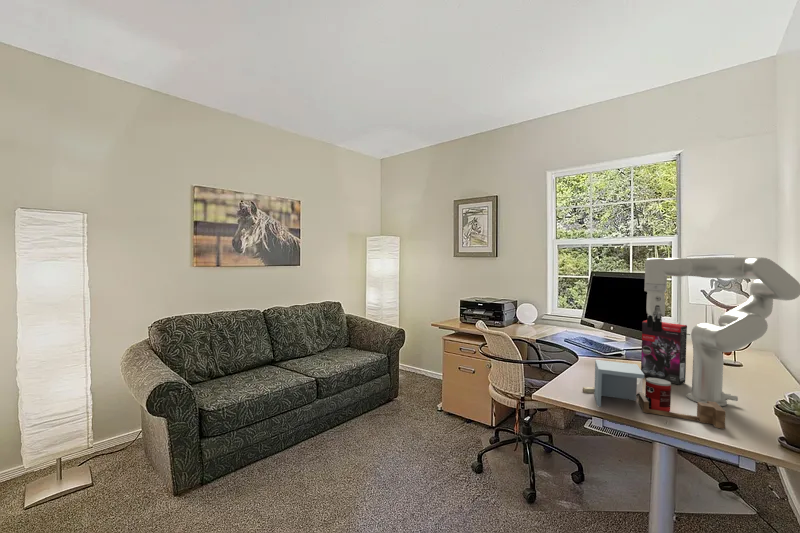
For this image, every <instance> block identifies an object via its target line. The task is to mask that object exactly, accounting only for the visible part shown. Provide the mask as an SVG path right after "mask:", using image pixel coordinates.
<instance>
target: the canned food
mask: <svg viewBox="0 0 800 533" xmlns="http://www.w3.org/2000/svg"><path fill="white" fill-rule="evenodd" d="M644 389H645V390H644V391H645V394H644V395H645V397H646V398H647V400H648V402H649V409H653V410H659V411H666V412H671V399H672V383H671V382H669V381H667V380H663V379H659V378H651V377H647V378H645V388H644Z"/></svg>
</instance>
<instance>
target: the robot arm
mask: <svg viewBox="0 0 800 533" xmlns="http://www.w3.org/2000/svg"><path fill="white" fill-rule="evenodd" d="M644 269H645V270H644V288H643V289H644V292H646V293H647V294H646V308H645V309H646V314H647V317H646V320H647V327H649V328H652V331H654V332H661V331H662V322H663V318H664V317H665V316H666V301H665V300H666V296H665V293H667V287H668V283H667V282H668V277H677V278H678V277H679V278H680V277H698V278H705V279H707V278H708V279H743V280H744V279H747V280H748V279H750V280H751V279H752V280H753V281H752V283H751V284H750V287H749V297H748V299H747V300H746V301H744V302H743V303H741V304H740V305H738V306H736V307H734V308H731V309H730V310H728V311H726V312H725V313H723V314H721V316H720V317H719V318H718V324H715V323H710V322H701V323H698V324H696V325H694V327H693V328H692V329H691V334H690V335H691V336H690V337H691V342H692V348H693V350H692V352H693V353H692V355H693V356H692V358H693V359H692V379H691V392H688V393H686V397H687V398H688V399H689V400H690V401H693V402H696V403H698V402H702V403H707V401H711V402H716V403H717V404H718V405H719V406H720V407H725V406H727V405H728V401H732V402H733V401H734V402H737V401H738V400H739V398H738V396H737V395H733V394H731V393H725V392H724V391H723V383H724V382H723V381H724V376H723V375H724V354H723V353H732V352H735V351H737V350H740V349H742V348H743V347H746V346H747V345H749V344H751V343H752V342H755V341H757V340H758V339H761V338H762V337H763V336H765V334H766V333H767V331H768V327H769V326H768V322H767V320H766V319H767V318H768V317H770V315H771V314H772V312H773V307H774V306H773V305H774V300H778V301H786V302H787V301H792V300H795V299H798V298H799V297H800V283H799V281H798V280H797V279H796V278H795V277H793V276H792V275H791V273H789V272H787V270H785V269H784V268H783V267H781V265H779V264H778V263H776V262H774V261H773V260H772V259H770V258H767V257H747V256H746V257H742V256H741V257H740V256H738V257H736V256H735V257H733V256H731V257H727V256H724V257H722V256H721V257H720V256H710V257H697V258H696V257H695V258H691V257H689V258H687V257H686V258H683V257H666V258H663V257H662V258H661V257H658V258H657V257H650V258H647V259H646V260H645V263H644ZM662 317H663V318H662Z"/></svg>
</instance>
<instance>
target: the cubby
mask: <svg viewBox="0 0 800 533" xmlns="http://www.w3.org/2000/svg"><path fill="white" fill-rule="evenodd" d="M594 363H595V366H594V393H593V394H594V398H595V402H596V407H599V408H601V407H602V397H610V398H616V399H622V400H628V399H629V400H630V401H635V402H636V401H637V396H636V393H637V378H642V379H645V376H644V373H643V372H642V371H641V367H639V365H638V364H637V363H628V362H627V363H626V362H620V361H619V362H618V361H610V360H609V361H608V360H602V359H595V361H594Z"/></svg>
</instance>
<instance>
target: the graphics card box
mask: <svg viewBox="0 0 800 533" xmlns="http://www.w3.org/2000/svg"><path fill="white" fill-rule="evenodd" d="M687 335H688V326H687V324H679V323H671V322H665V321H662V331H661V332H654V331H652V328H649V327H647V319H646V320H643V321H642V322H641V358H640V361H641V362H640V369H641V371H642V372H643V373H644V377H647V378H659V379H663V380H667V381H669V382H671V384H675V385H682V384H685V383H686V376H687V375H686V374H687V373H686V370H687V369H686V368H687V366H686V365H687V338H688V336H687Z"/></svg>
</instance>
